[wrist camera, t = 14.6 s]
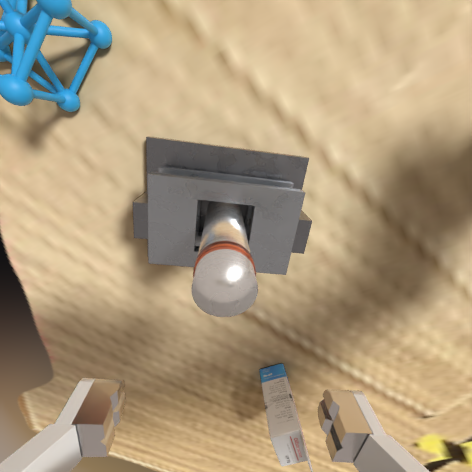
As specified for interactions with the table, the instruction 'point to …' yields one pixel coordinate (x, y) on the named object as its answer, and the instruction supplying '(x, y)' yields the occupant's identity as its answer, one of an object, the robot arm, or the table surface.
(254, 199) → the collar stand
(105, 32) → the molecular structure
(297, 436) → the ink box
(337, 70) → the table surface
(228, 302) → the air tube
